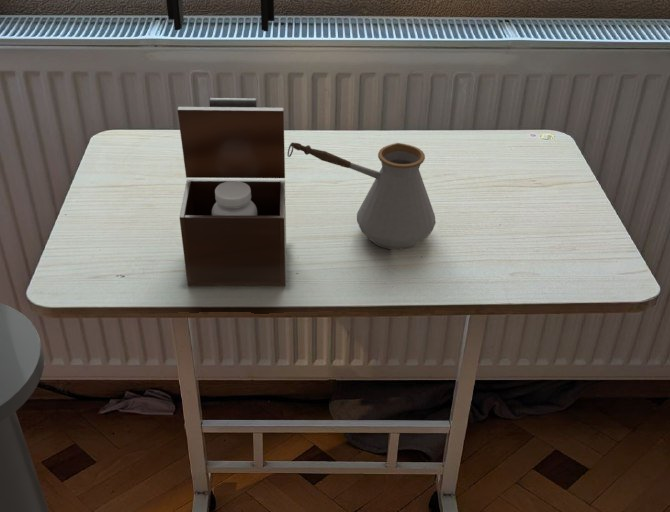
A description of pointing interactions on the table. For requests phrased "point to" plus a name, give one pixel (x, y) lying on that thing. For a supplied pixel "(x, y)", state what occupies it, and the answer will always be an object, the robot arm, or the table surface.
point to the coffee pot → (390, 196)
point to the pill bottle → (233, 199)
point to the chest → (234, 236)
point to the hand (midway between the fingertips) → (222, 26)
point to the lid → (232, 140)
